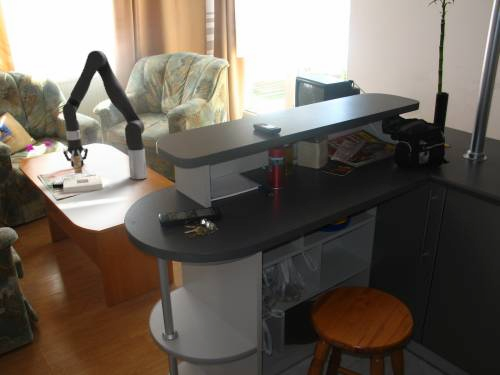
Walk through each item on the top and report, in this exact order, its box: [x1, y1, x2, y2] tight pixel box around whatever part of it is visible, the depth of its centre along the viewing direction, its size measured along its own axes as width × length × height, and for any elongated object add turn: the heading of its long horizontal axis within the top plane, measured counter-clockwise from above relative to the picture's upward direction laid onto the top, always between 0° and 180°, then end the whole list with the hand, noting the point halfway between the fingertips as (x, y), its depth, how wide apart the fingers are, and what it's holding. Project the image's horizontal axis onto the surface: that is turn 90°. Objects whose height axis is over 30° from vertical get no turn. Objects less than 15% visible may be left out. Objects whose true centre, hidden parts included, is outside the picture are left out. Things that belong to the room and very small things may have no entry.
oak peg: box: [73, 155, 83, 174], centre depth 285 cm, size 4×4×10 cm
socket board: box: [62, 174, 104, 194], centre depth 275 cm, size 20×16×3 cm
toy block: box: [26, 141, 52, 152], centre depth 335 cm, size 15×6×8 cm, turn 134°
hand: (77, 166), depth 285 cm, fingers closed on oak peg, 4 cm apart
